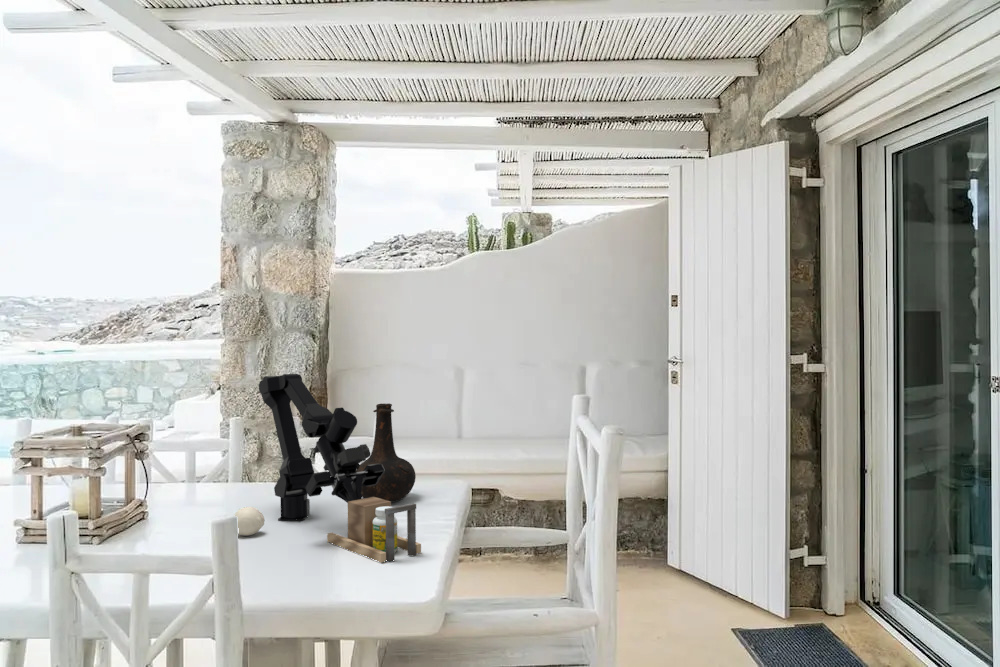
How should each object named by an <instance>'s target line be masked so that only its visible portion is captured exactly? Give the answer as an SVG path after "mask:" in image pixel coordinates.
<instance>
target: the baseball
mask: <svg viewBox="0 0 1000 667" xmlns="http://www.w3.org/2000/svg"><path fill="white" fill-rule="evenodd" d="M234 515H235V516H237V517H238V528H239V534H238V535H239V536H244V537H245V536H246V537H249V536H252V535H254V534H257V533H258V532H259V531H260V529H262V528H263V527H264V525H265V522H266V521H265V516H264V514H263V512H261V511H260V510H259V509H257V508H256V507H254V506H246V507H242V508H239V509H238V510H237V511H235V514H234Z"/></svg>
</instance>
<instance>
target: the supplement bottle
mask: <svg viewBox="0 0 1000 667" xmlns="http://www.w3.org/2000/svg"><path fill="white" fill-rule="evenodd" d="M392 507H393V506H391V507H389V506H383V507H378V508H376V510H375V514H376V516H377V517H375V518H374V519H373V548H375V549H378V550H380V551H383V552H386V514H385V509H387V508H392ZM397 536H398V519H397V518H396V516H394V553H396V552H397V551H398V547H397Z"/></svg>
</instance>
